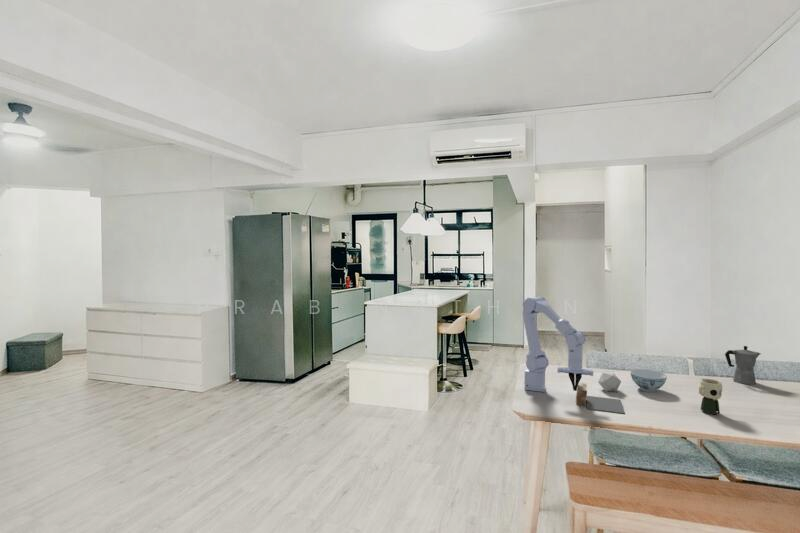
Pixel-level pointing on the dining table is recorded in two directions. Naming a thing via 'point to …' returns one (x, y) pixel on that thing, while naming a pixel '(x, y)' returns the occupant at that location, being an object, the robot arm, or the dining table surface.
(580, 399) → the two-tone wooden block
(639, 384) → the chinaware
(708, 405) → the character mug
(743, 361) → the coffeepot
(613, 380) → the die
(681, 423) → the dining table surface
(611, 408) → the mat
